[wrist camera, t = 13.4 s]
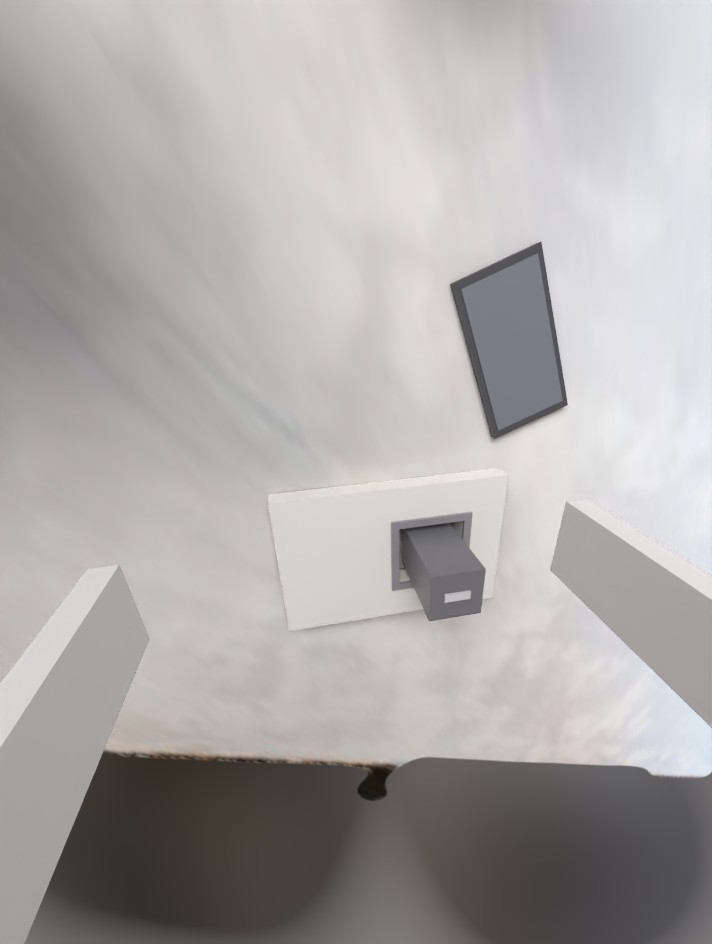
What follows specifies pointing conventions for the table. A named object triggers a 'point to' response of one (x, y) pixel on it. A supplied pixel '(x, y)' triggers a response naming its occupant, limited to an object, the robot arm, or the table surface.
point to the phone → (512, 339)
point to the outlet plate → (375, 541)
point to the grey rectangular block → (443, 571)
